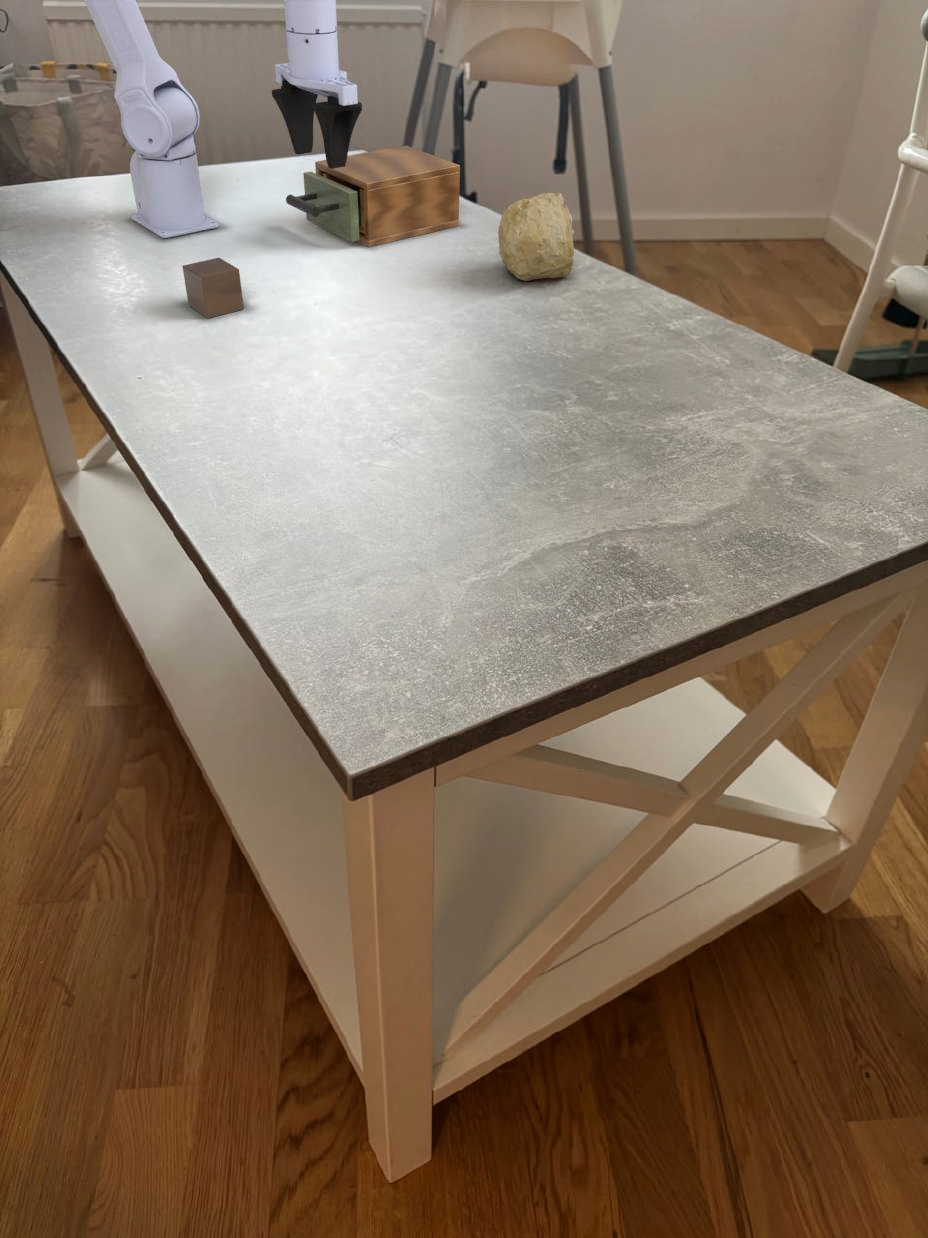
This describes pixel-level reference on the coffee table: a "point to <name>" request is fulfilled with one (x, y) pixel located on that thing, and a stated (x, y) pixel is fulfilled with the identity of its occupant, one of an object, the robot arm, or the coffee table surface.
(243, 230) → the coffee table surface
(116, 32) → the robot arm
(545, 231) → the beige lumpy stone
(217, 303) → the block
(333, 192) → the drawer
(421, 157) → the cabinet
